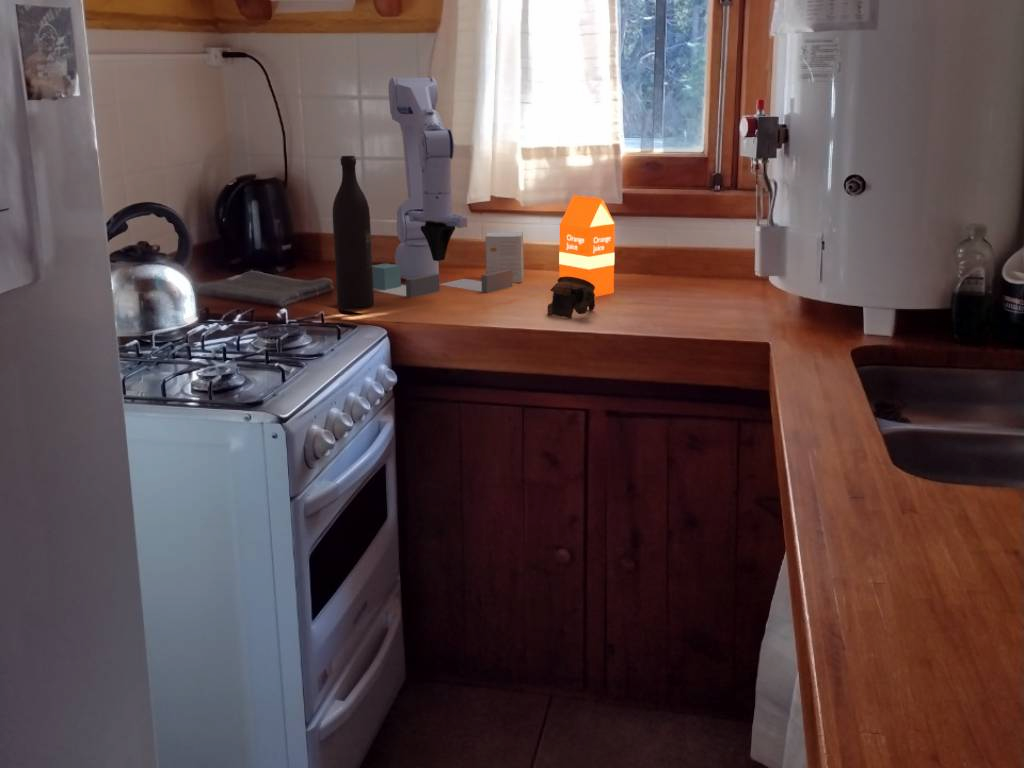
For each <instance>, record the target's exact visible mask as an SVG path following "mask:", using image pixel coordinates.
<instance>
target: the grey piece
mask: <svg viewBox="0 0 1024 768" xmlns="http://www.w3.org/2000/svg"><path fill="white" fill-rule="evenodd" d="M439 284H440V273H439V274H429V275H425V276H420V277H415V278H410V279H405V284H402V283H401V287H397V288H392V289H387V290H383V289H377V288H373V292H378V293H380V292H381V293H385V294H390V295H397V296H400V297H406V298H416V297H420V296H424V295H428V294H429V295H430V294H433V293H438V292H440V285H439Z"/></svg>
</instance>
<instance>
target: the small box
mask: <svg viewBox="0 0 1024 768" xmlns="http://www.w3.org/2000/svg"><path fill="white" fill-rule="evenodd" d="M524 263H525V262H524V233H523V232H521V231H520V232H519V231H518V232H517V231H515V232H513V231H511V232H509V231H508V232H507V231H506V232H505V231H504V232H498V231H496V232H495V231H493V232H487V234H486V235H485V264H486V265H485V268H486V269H485V272H486V273H485V274H488V273H493V272H497V271H502V270H506V269H508V270H512V283H513V284H514V283H517V284H522V282H523V280H524V277H525V275H524V274H525V269H524V267H525V266H524Z"/></svg>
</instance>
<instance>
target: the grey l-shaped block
mask: <svg viewBox="0 0 1024 768" xmlns="http://www.w3.org/2000/svg"><path fill="white" fill-rule="evenodd" d="M513 284H514V283H512V270H508V269H506V270H502V271H497V272H493V273H488V274H486V273H485V274H484V273H483V274H481V281H480V280H475V279H467V278H462V279H458V280H457V279H456V280H453V281H447V282H444V283H439V286H445V287H451V288H456V289H461V290H462V289H463V290H468V291H474V292H478V293H479V292H480V293H486V294H488V293H492V292H497V291H501V290H504V289H509V288H512V287H513Z"/></svg>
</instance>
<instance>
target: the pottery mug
mask: <svg viewBox="0 0 1024 768" xmlns="http://www.w3.org/2000/svg"><path fill="white" fill-rule="evenodd" d="M594 290H595V286H594V285H593V284H592V283H590V282H589V281H586V280H584V279H580V278H576V277H569V276H565V277H560V278H558V279H557V282H556V283H555V284H554V285H553V286H552V287H551V288H550V292H553V293H552V302H550V303H548V304H547V316H556V317H557V316H558V317H564V318H568V319H572V316H573V313H574V310H575V312H576V313H577V314H578V315H583V314H586V312H587V310H589V311H593V310H595V306H596V301H595V300H596V299H595V298H596V297H595V294H594Z"/></svg>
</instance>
